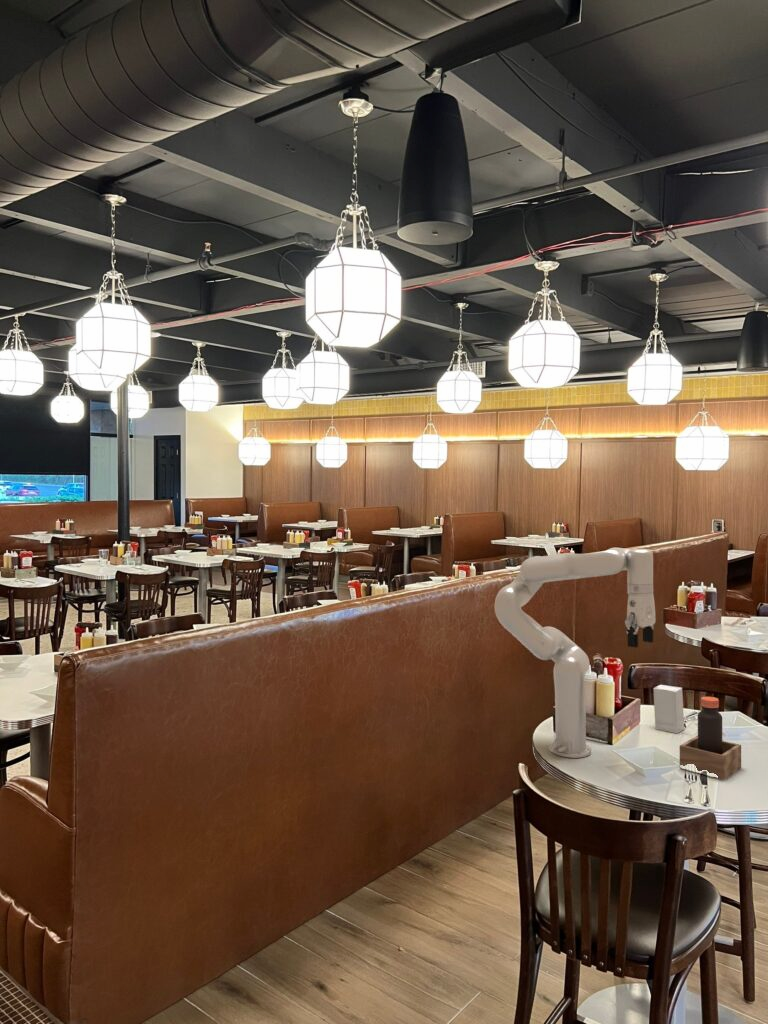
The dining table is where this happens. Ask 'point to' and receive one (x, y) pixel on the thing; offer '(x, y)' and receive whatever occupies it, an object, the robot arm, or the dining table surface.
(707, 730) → the vinegar
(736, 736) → the dining table surface
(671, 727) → the skincare box
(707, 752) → the caddy
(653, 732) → the dining table surface
